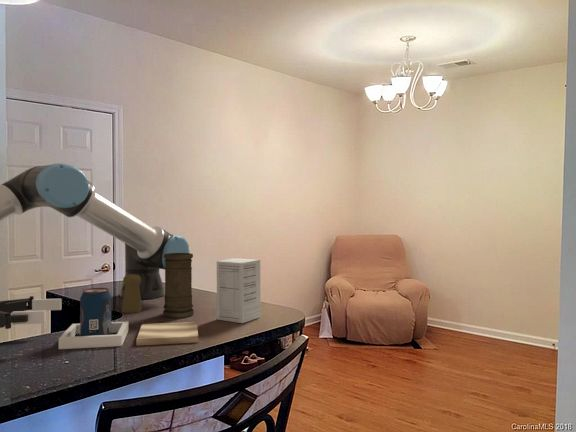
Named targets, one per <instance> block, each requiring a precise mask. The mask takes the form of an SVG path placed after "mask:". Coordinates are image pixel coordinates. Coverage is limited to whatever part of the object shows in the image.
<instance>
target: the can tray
mask: <svg viewBox="0 0 576 432" xmlns="http://www.w3.org/2000/svg"><path fill="white" fill-rule="evenodd" d="M129 325H130V324H129V321H128V320H127V321H111V335H95V336H80V323H71V325H70V326H69V327H68V328H67V329H66V330H65V331H64V332H62V334H61V336H60V337H58V350H69V349H71V350H73V349H74V350H75V349H89V348H91V349H92V348H107V347H109V348H111V347H122V346H123V343H124V341H125V339H126V337H127V335H128V332H129ZM114 333H115V334H114ZM76 334H77V335H79V336H77V335H76ZM75 335H76V336H75Z"/></svg>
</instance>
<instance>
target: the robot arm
mask: <svg viewBox="0 0 576 432" xmlns="http://www.w3.org/2000/svg"><path fill="white" fill-rule="evenodd" d="M40 207H44V208H45V207H46V208H51V209H53V210H54V211H57V212H58V213H60V214H62V215H64V216H65V217H67V218H75V217H79V218H80V219H81V220H83V221H85V222H87V223H89V224H90V225H93V226H94V227H95V228H98V230H99V229H100V230H101V231H102V232H105V233H106V234H108V235H110V236H112V237H113V238H114V239H115V238H116V239H117V240H119V241H120V242H122V243H124V246H125V247H124V251H125V252H124V257H125V259H124V260H125V261H124V265H125V269H124V271H125V272H124V273H125V275H124V277H125V276H126V275H130V274H136V275H139V276H140V277H141V283H140V284H139V288H140V296H141V300H146V299H148V300H149V299H154V298H160V297H162V296H163V297H164V296H165V285H164V284H163V283H164V282H163V280H162V277H161V274H160V269H161V270H165V260H166V259H165V258H164V254H168V253H190V249H189V247H190V244H189V242H188V240H187V239H186V238H185V237H183V236H181V235H179V234H178V235H177V234H175V235H174V234H171V233H170V232H168V231H167V230H165V229H164V228H162V227H160V226H153V227H152V226H150V225H149V224H147V223H145V221H142V220H140V219H139V218H138V217H136V216H134V215H133V214H131V213H129V212H128V211H126V210H125V209H124V208H122V207H120V206H119V205H118V204H115V203H114V202H112V201H110V200H109V199H108V198H106V197H105V196H103V195H101V194H99V193H98V192H96V191H95V186H94V184H93V183H92V182H91V181H89V180H88V179H87V177H86V175H85V173H84V172H83V171H82V170H81V169H79V168H78V167H76V166H74V165H71V164H67V163H66V164H65V163H53V164H47V165H38V166H33V167H29V168H28V169H25V170H24V171H23V172H21V173H19V174H18V175H16V176H14V177H12V178H11V179H8V180H7V181H5V182H3V183H1V184H0V222H2V221H4V220H6V219H7V218H9V217H11V216H12V215H22V214H24V213H25V212H28V211H29V210H30V211H31V210H32V209H37V208H40ZM124 290H125V285H124V283H123V282H122V284H121V286H120V290H119V296H120V298H122V299H123V297H124ZM61 310H62V298H38V299H37V298H36V299H35V298H34V295H33V296H31V295H30V296H29V297H27V298H17V299H6V300H0V329H2V328H5V329H4V330H8V329H12V325H34V324H36V325H37V324H46V316H47V315H46V314H47V313H46V311H61Z"/></svg>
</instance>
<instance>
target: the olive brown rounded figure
mask: <svg viewBox="0 0 576 432" xmlns="http://www.w3.org/2000/svg"><path fill="white" fill-rule="evenodd" d="M122 283H124V285H125V290H124V297H123V298H122V299H123V300H122V306H121V312H122V313H127V314H128V313H129V314H130V313H131V314H132V313H139V312H142V311H143V305H142V304H143V303H142V299H141V296H140V288H139V284H140V283H141V277H140V276H139V275H136V274H130V275H126V276H125V275H124V277H123V278H122Z"/></svg>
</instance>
